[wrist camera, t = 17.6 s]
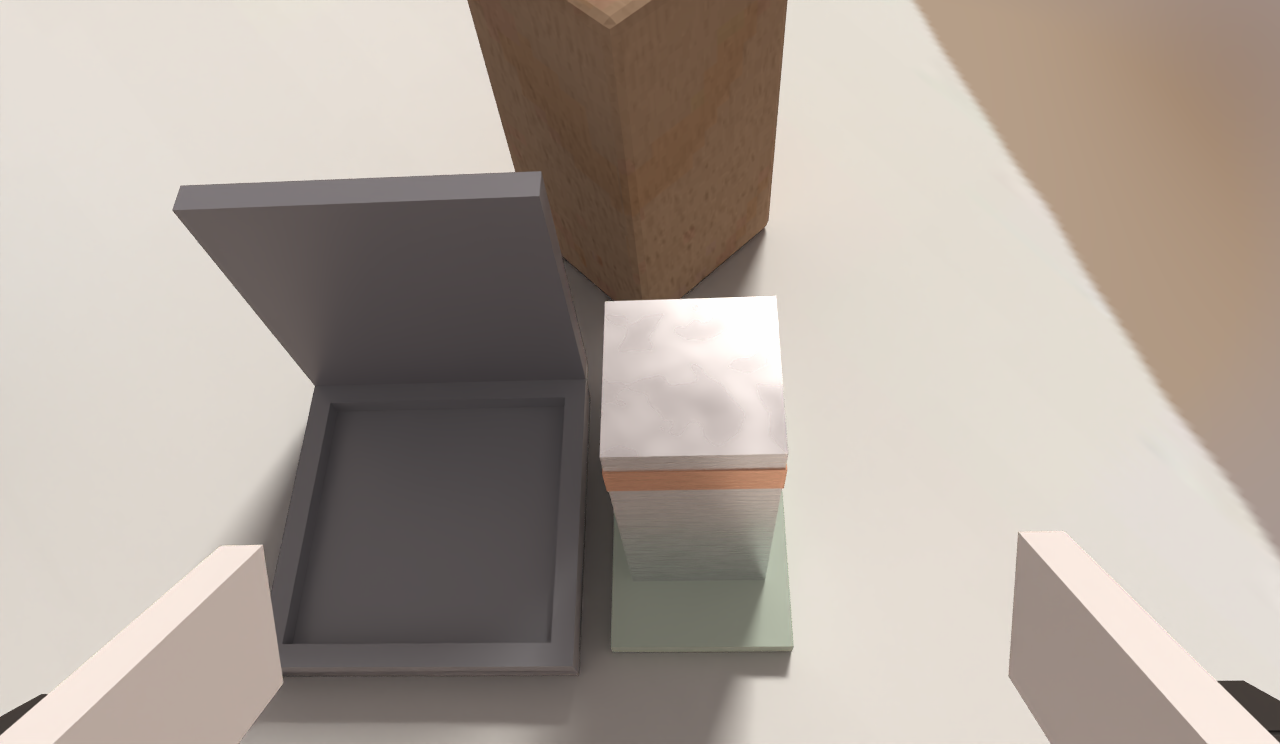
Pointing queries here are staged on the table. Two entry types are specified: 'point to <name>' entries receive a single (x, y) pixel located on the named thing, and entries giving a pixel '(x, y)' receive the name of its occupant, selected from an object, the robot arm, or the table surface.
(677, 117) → the wooden block
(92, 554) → the table surface
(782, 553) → the sage board
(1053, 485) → the table surface
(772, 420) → the block
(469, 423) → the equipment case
